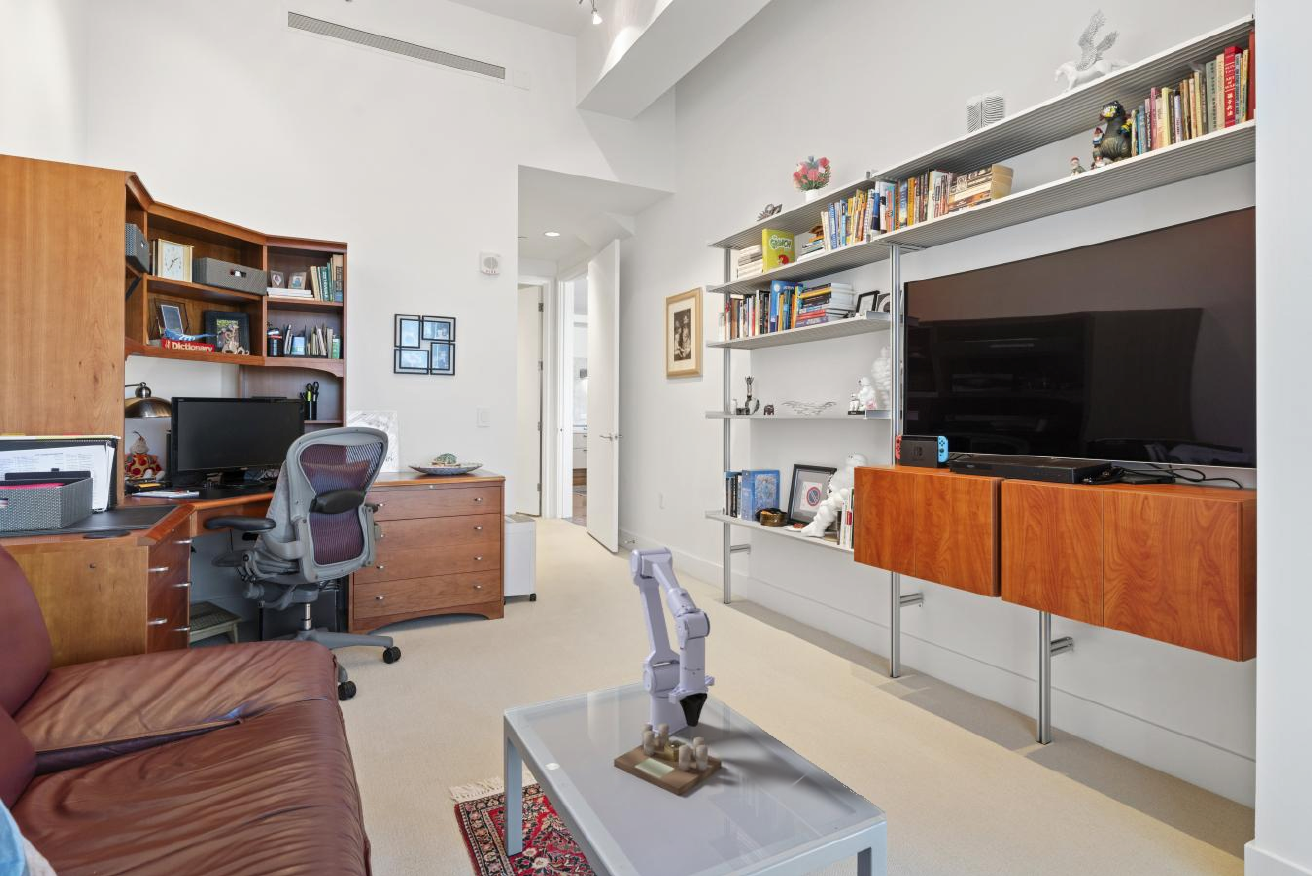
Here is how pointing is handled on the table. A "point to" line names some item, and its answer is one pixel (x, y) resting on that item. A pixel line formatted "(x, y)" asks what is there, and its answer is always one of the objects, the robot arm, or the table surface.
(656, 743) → the board
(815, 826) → the table surface
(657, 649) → the robot arm
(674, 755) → the nut
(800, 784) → the table surface
